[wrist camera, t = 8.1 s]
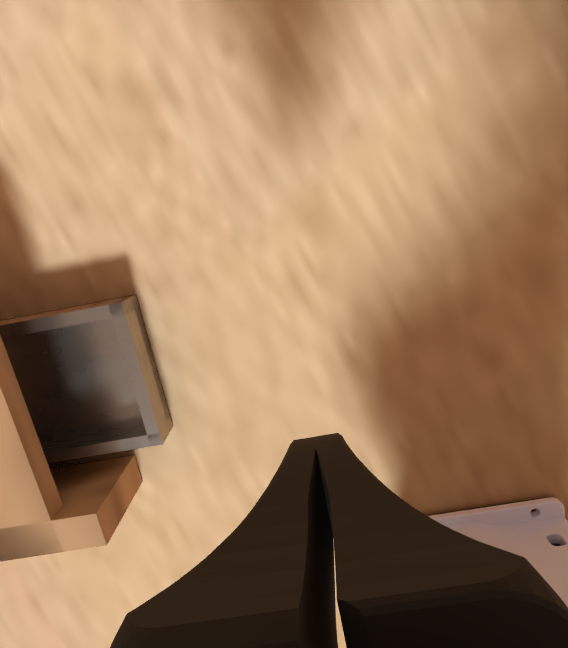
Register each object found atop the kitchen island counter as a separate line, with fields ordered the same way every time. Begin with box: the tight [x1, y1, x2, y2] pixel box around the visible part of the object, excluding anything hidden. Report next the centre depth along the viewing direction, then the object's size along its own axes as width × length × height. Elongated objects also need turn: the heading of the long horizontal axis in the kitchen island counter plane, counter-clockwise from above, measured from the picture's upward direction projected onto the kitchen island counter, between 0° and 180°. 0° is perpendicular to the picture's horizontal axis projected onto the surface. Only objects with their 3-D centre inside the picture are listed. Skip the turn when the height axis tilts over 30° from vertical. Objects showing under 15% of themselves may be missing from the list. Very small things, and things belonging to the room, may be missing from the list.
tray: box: [0, 295, 173, 464], centre depth 21 cm, size 10×7×2 cm
